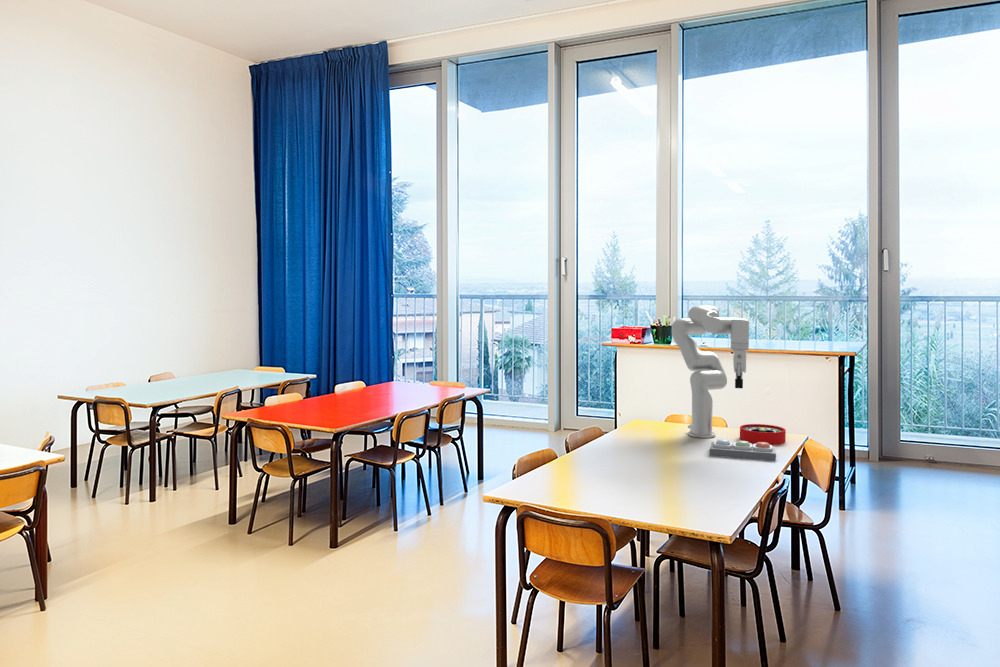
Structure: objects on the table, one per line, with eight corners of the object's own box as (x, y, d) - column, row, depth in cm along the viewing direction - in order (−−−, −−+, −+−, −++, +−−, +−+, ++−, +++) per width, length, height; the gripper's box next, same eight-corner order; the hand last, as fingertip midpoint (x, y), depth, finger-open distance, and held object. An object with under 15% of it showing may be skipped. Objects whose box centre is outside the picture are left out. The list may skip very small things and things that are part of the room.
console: (709, 455, 289) (709, 445, 288) (711, 448, 302) (711, 439, 301) (775, 460, 279) (775, 450, 279) (774, 453, 292) (774, 443, 292)
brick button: (756, 448, 286) (756, 444, 286) (756, 446, 291) (756, 441, 291) (769, 449, 284) (769, 445, 284) (768, 447, 289) (769, 442, 289)
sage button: (736, 447, 289) (736, 442, 289) (736, 444, 294) (736, 440, 293) (748, 448, 287) (748, 443, 287) (748, 445, 292) (749, 441, 292)
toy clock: (747, 432, 308) (734, 423, 328) (746, 445, 308) (734, 435, 328) (792, 433, 307) (777, 424, 327) (791, 445, 307) (776, 436, 327)
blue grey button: (716, 446, 292) (716, 441, 292) (717, 443, 296) (717, 439, 296) (728, 446, 290) (728, 442, 290) (729, 444, 295) (729, 439, 294)
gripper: (748, 348, 290) (747, 390, 291) (748, 345, 304) (748, 386, 305) (730, 347, 293) (729, 390, 294) (731, 345, 307) (730, 385, 308)
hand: (738, 387), depth 299 cm, fingers closed
